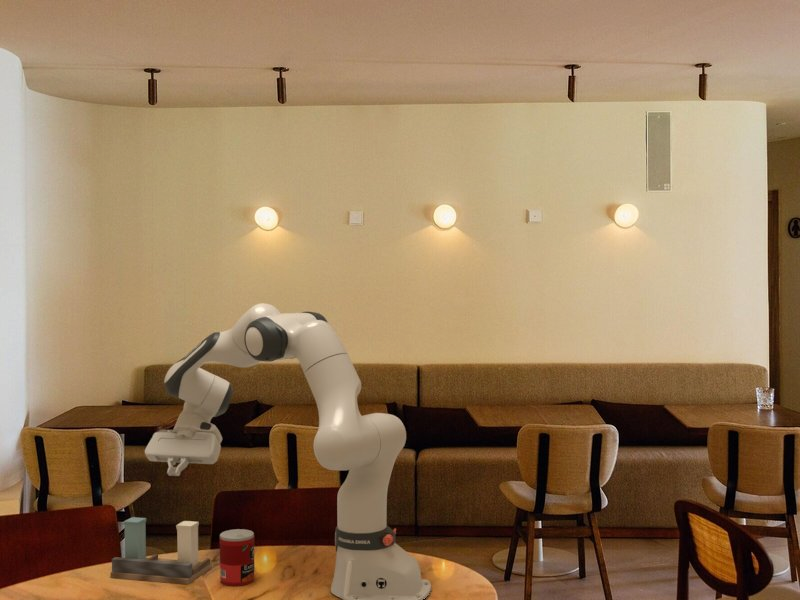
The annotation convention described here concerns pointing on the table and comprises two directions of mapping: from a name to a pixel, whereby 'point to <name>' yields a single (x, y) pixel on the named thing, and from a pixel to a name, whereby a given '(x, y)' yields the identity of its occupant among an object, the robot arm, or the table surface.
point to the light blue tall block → (135, 538)
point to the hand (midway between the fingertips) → (172, 474)
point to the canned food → (237, 557)
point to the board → (159, 578)
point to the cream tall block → (187, 542)
